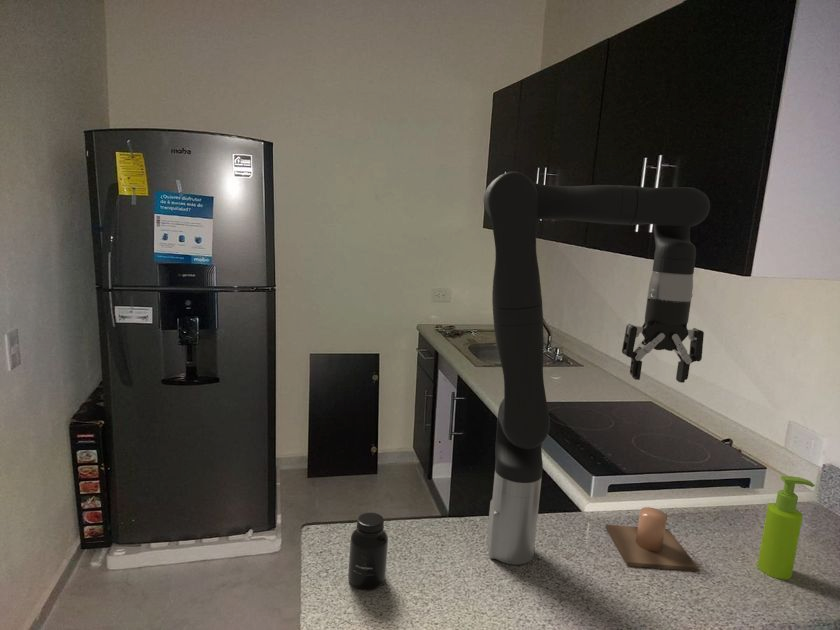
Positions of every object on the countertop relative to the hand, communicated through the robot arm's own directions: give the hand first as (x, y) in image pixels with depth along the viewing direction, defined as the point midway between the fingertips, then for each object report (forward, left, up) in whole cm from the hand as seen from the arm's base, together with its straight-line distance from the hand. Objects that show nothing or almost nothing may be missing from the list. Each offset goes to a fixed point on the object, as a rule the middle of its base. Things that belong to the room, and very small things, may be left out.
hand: (657, 380), depth 105 cm
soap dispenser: (+29, 0, -38) cm, 48 cm away
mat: (+5, +5, -38) cm, 39 cm away
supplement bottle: (-53, -12, -38) cm, 67 cm away
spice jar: (+5, +5, -37) cm, 38 cm away
